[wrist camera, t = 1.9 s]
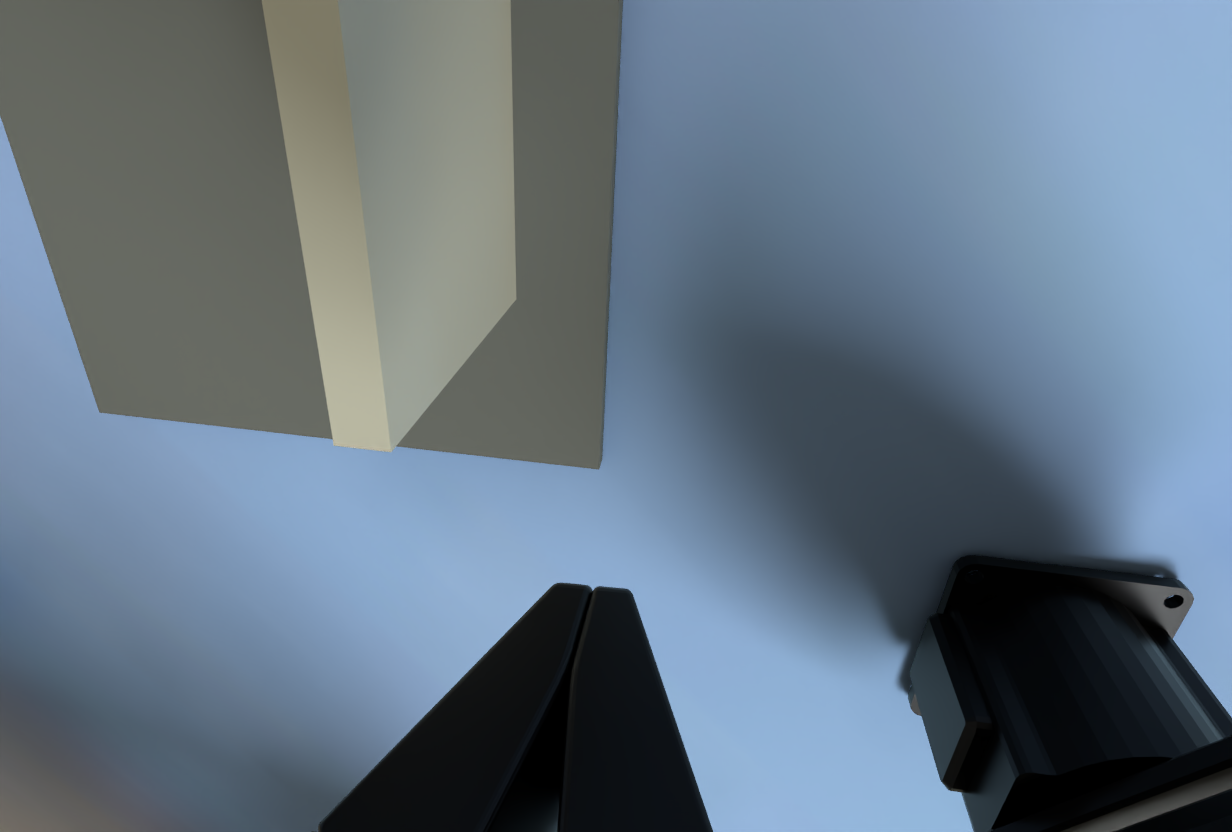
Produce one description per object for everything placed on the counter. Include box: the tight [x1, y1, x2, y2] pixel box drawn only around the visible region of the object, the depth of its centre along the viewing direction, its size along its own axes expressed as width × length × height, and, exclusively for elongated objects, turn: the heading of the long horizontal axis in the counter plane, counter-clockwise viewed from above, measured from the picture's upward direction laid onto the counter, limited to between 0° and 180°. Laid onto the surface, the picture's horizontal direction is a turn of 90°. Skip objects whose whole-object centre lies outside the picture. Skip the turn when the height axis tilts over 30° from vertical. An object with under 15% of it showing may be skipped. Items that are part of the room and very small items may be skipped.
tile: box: [262, 0, 516, 452], centre depth 13 cm, size 1×8×8 cm, turn 177°
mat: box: [0, 0, 623, 469], centre depth 18 cm, size 16×18×1 cm
